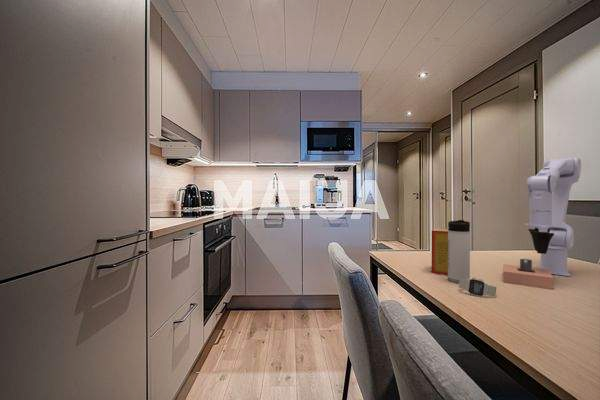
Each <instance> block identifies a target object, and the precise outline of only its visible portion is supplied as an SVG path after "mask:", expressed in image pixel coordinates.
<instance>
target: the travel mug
mask: <svg viewBox="0 0 600 400" xmlns="http://www.w3.org/2000/svg"><path fill="white" fill-rule="evenodd" d="M447 224H448V225H447V227H448V228H447V229H448V275H447V280H448V281H449V282H452V283H453V284H454V283H455V284H459V281H460V279H465V280H470V279H471V278H470V277H471V276H470V275H471V274H470V273H471V272H470V271H471V269H470V268H471V264H470V263H471V260H470V259H471V231H470V229H471V222H469V221H467V220H464V219H458V220H450V221H448V222H447Z"/></svg>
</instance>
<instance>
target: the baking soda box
mask: <svg viewBox="0 0 600 400" xmlns="http://www.w3.org/2000/svg"><path fill="white" fill-rule="evenodd" d="M431 274H436V275H442V276H448V228H441V227H435V228H434V229H432V230H431Z"/></svg>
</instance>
